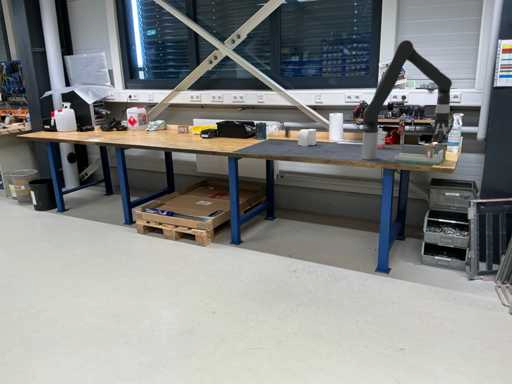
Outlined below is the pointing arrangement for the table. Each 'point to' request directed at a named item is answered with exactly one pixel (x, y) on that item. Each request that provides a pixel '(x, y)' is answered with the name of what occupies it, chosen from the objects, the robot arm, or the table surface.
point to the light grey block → (307, 137)
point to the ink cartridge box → (381, 139)
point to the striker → (439, 142)
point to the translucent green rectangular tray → (420, 155)
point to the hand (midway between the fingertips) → (440, 140)
